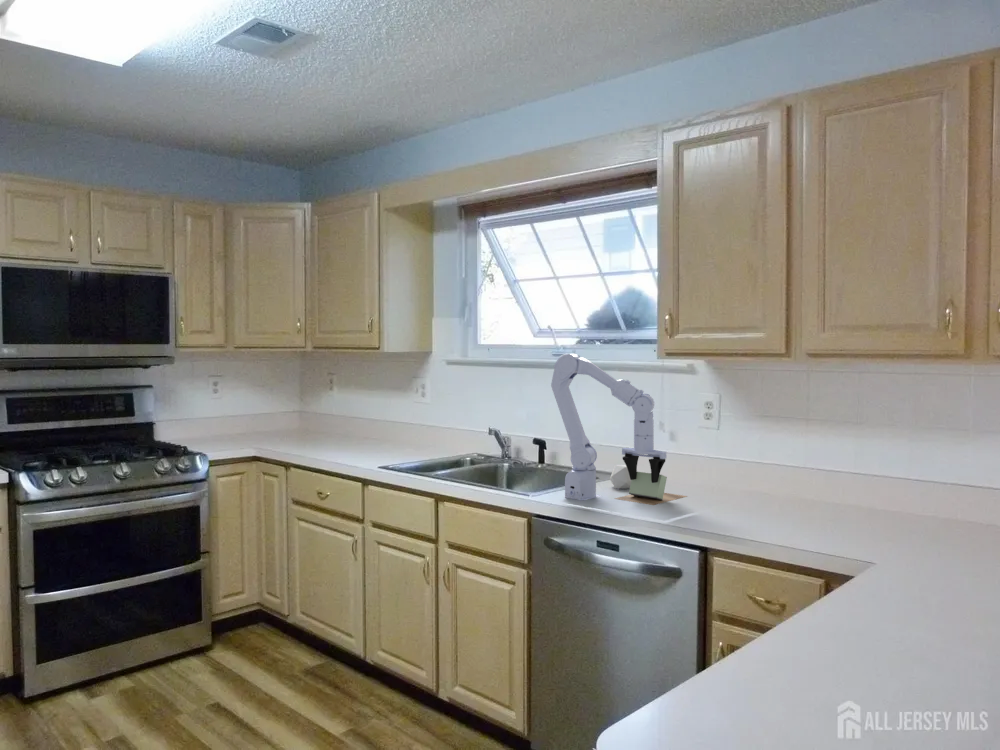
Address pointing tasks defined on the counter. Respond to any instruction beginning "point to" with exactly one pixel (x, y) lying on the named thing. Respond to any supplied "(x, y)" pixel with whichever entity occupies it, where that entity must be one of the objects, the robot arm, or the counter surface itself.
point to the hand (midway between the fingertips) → (643, 480)
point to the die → (620, 477)
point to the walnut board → (650, 501)
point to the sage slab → (648, 486)
